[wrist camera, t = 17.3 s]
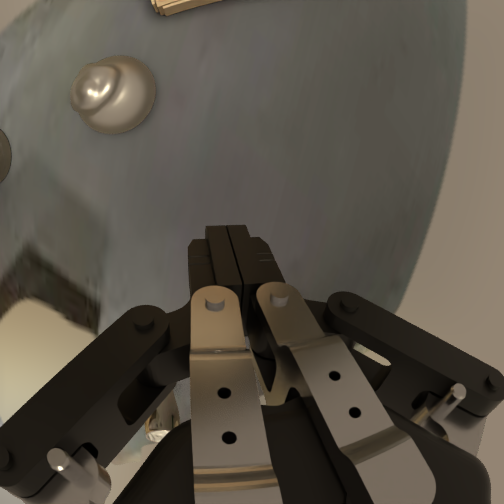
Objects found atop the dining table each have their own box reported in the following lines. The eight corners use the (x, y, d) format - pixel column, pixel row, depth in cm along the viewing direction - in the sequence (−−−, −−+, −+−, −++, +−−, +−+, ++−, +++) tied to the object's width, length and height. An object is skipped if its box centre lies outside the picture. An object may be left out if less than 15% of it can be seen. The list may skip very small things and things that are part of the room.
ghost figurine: (131, 38, 28) (114, 30, 20) (172, 97, 34) (169, 108, 26) (71, 84, 29) (39, 93, 21) (113, 140, 35) (93, 165, 27)
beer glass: (136, 372, 60) (136, 436, 48) (160, 360, 59) (164, 426, 47) (158, 386, 64) (162, 446, 52) (182, 375, 63) (189, 437, 51)
